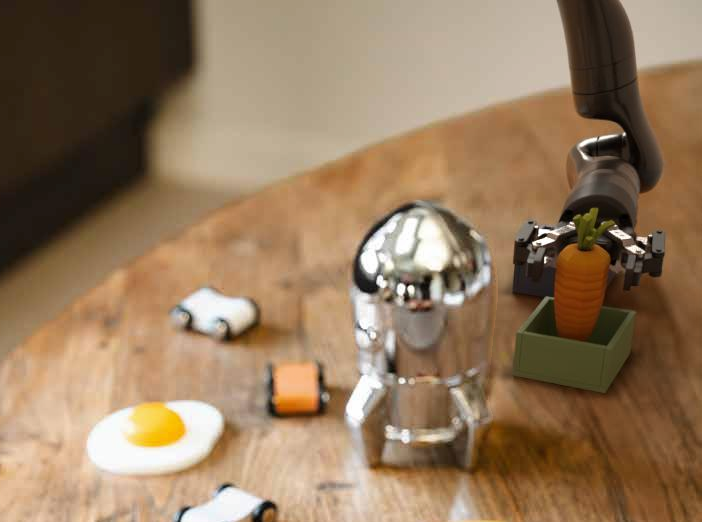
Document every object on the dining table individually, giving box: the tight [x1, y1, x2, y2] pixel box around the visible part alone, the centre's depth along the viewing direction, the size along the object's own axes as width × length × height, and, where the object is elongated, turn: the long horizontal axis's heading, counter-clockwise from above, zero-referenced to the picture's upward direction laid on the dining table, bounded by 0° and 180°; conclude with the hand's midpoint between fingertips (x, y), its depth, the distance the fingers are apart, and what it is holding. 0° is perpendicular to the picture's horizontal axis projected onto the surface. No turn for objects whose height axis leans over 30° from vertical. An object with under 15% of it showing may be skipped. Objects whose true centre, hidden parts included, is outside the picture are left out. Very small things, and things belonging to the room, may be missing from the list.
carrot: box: [554, 208, 615, 342], centre depth 115 cm, size 5×5×15 cm
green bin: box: [512, 296, 637, 394], centre depth 118 cm, size 9×9×5 cm
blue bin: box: [511, 223, 617, 298], centre depth 134 cm, size 9×9×5 cm
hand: (581, 277), depth 112 cm, fingers open, 8 cm apart
